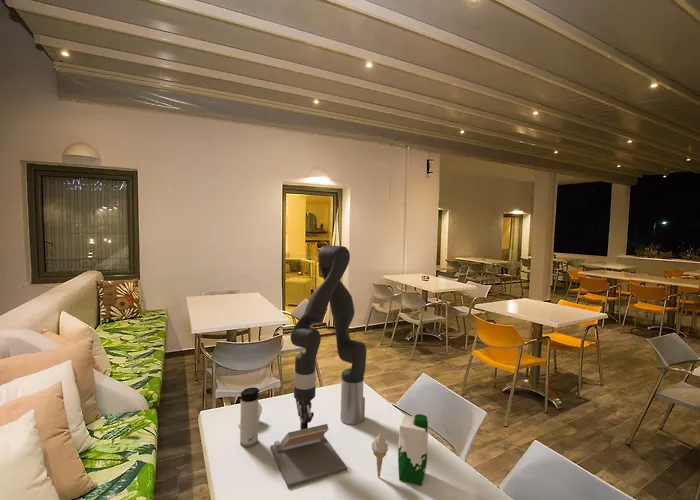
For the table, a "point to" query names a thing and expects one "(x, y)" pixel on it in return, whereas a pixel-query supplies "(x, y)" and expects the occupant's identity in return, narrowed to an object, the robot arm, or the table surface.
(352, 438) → the table surface
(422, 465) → the milk carton
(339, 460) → the base
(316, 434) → the tile
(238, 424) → the beige irregular lump
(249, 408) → the travel mug
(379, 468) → the ice cream cone
